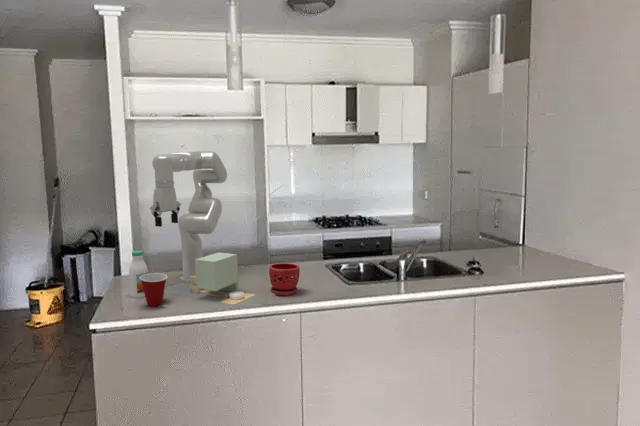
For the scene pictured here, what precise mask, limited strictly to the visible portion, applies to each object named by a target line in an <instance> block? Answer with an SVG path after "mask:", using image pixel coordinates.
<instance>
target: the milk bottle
mask: <svg viewBox="0 0 640 426" xmlns="http://www.w3.org/2000/svg"><path fill="white" fill-rule="evenodd" d="M131 258H132V261H131V263H130V266H129V275H128V277H129V288H130V289H129V292H130V293H129V294H130V297H131V298H145V294H144V290H143V285H142V282H141V280H140V276H142V275H145V274H149V270H148V266H147V264H146V262H145V260H144V250H141V249H140V250H139V249H138V250H133V251H131Z"/></svg>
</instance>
